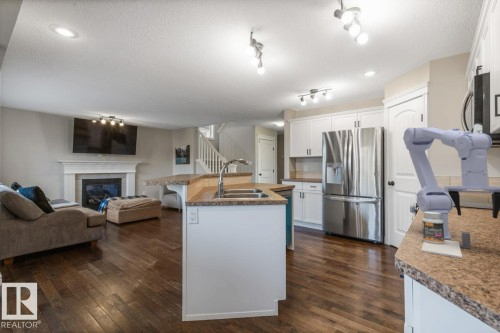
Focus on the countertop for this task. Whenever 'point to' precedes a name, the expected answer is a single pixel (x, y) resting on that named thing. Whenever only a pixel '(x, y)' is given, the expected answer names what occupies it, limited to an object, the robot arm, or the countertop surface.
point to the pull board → (448, 247)
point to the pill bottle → (433, 228)
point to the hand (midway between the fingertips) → (476, 216)
